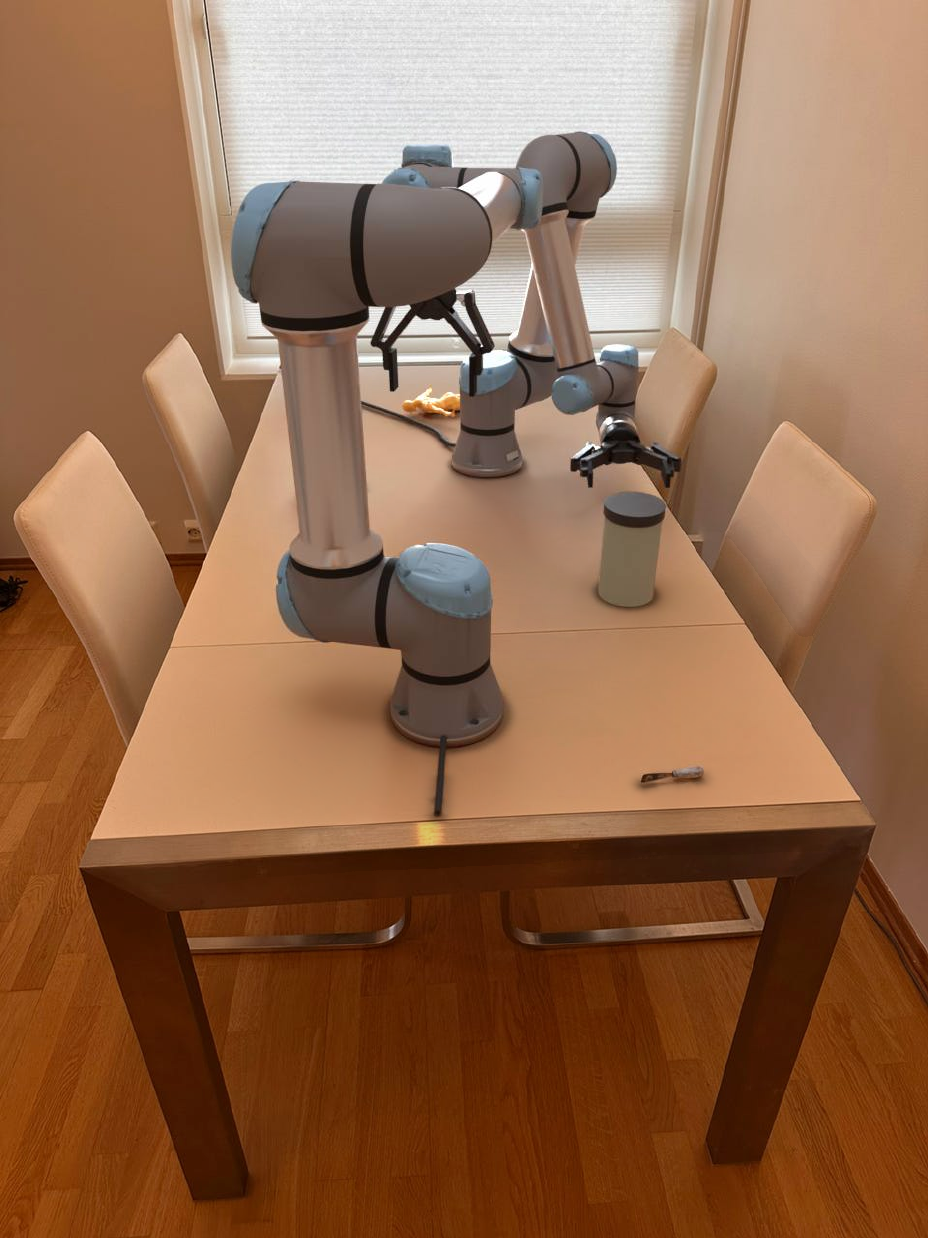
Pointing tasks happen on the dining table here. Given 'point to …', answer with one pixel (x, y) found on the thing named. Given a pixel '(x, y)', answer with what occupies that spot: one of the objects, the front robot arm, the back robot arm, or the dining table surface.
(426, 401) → the human figure
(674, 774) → the putty knife
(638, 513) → the lid
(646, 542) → the jar
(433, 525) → the dining table surface
